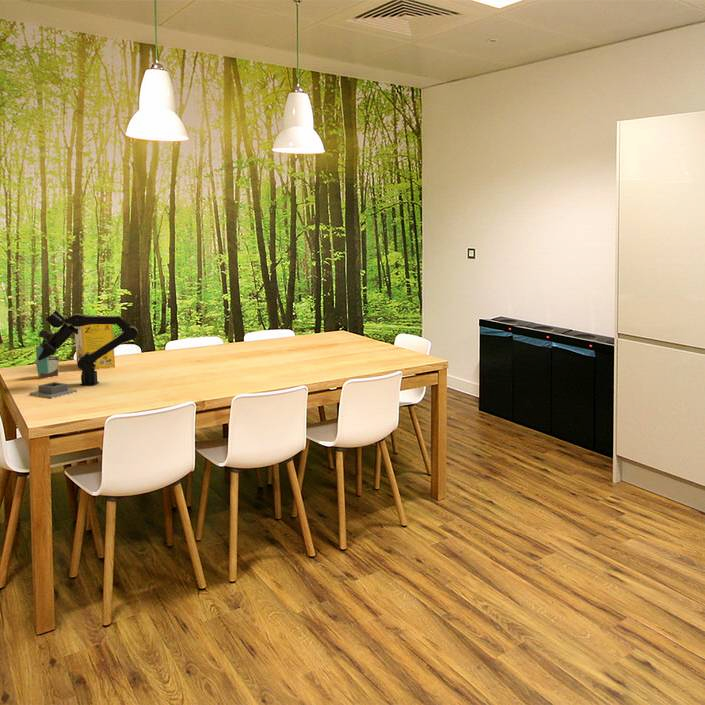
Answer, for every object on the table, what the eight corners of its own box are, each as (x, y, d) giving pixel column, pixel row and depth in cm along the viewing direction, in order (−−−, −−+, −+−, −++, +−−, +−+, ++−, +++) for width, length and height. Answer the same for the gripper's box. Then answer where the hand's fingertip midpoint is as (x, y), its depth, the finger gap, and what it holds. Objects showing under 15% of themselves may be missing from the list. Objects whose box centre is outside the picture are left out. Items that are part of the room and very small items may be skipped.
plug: (49, 371, 329) (47, 342, 327) (48, 373, 325) (45, 343, 323) (39, 371, 328) (37, 342, 326) (37, 373, 324) (35, 344, 322)
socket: (55, 388, 324) (55, 380, 323) (76, 391, 318) (76, 383, 317) (30, 394, 312) (29, 386, 311) (51, 398, 306) (50, 389, 305)
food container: (54, 373, 356) (53, 354, 354) (60, 375, 352) (59, 356, 350) (31, 377, 346) (29, 358, 344) (37, 379, 342) (35, 359, 341)
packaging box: (77, 365, 377) (73, 320, 373) (107, 362, 386) (104, 318, 381) (83, 370, 364) (80, 323, 359) (115, 367, 372) (112, 321, 368)
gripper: (51, 320, 332) (28, 344, 332) (45, 326, 315) (21, 351, 314) (70, 336, 336) (47, 359, 335) (65, 342, 318) (41, 367, 317)
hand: (39, 358), depth 325 cm, fingers closed on plug, 4 cm apart
